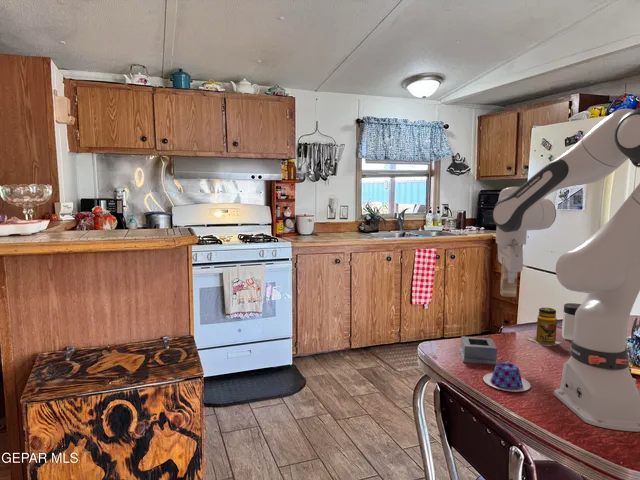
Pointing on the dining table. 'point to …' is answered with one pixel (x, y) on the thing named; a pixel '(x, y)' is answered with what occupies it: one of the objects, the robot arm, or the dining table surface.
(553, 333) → the condiment
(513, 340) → the dining table surface
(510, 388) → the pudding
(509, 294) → the wooden peg
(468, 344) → the socket holder
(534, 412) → the dining table surface
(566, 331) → the jar
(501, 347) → the dining table surface
